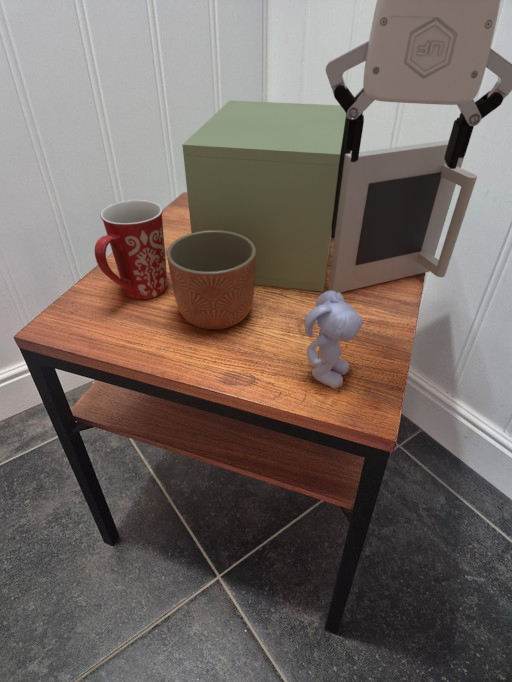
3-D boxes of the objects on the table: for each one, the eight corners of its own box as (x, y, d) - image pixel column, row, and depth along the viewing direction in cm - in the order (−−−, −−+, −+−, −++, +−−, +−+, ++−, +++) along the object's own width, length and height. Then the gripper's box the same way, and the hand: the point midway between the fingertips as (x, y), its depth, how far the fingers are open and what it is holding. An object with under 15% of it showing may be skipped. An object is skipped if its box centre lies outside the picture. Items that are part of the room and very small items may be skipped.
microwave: (344, 220, 93) (360, 106, 79) (338, 293, 72) (358, 155, 58) (233, 211, 97) (229, 100, 82) (196, 278, 76) (182, 144, 61)
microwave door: (452, 288, 73) (499, 153, 59) (350, 314, 67) (375, 171, 53) (424, 267, 78) (461, 138, 64) (327, 289, 73) (344, 153, 59)
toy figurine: (343, 397, 54) (358, 321, 47) (295, 381, 57) (301, 306, 49) (358, 363, 59) (374, 289, 51) (314, 350, 61) (322, 276, 54)
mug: (143, 268, 78) (129, 194, 69) (184, 282, 75) (174, 206, 66) (90, 303, 70) (66, 224, 61) (133, 321, 66) (114, 240, 58)
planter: (208, 282, 74) (203, 222, 67) (270, 305, 69) (272, 243, 62) (159, 320, 66) (147, 256, 59) (225, 349, 61) (221, 283, 54)
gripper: (336, -66, 33) (314, 167, 44) (587, -66, 30) (497, 180, 41) (340, -61, 38) (320, 145, 49) (552, -61, 36) (481, 155, 47)
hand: (401, 161), depth 45 cm, fingers open, 9 cm apart
